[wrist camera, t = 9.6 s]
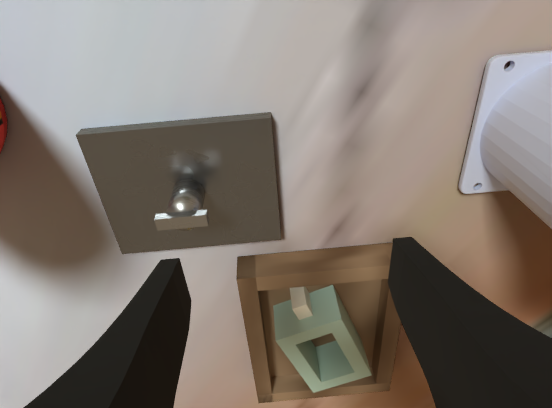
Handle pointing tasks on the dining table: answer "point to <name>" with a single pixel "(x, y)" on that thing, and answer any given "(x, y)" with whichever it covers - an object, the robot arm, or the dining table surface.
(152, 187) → the grey hook plate
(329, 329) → the green hollow block
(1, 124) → the canned food
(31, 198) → the dining table surface
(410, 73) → the dining table surface
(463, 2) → the dining table surface
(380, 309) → the tray
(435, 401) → the robot arm
